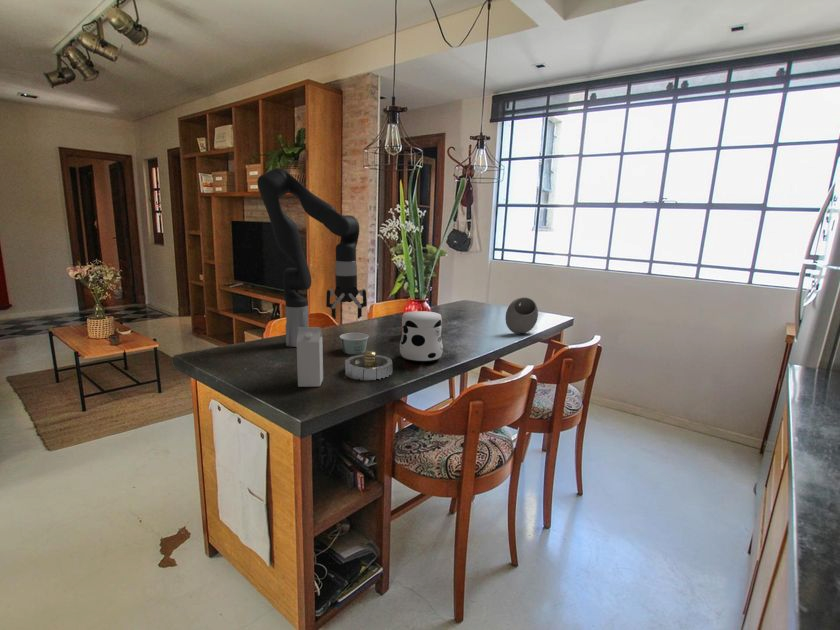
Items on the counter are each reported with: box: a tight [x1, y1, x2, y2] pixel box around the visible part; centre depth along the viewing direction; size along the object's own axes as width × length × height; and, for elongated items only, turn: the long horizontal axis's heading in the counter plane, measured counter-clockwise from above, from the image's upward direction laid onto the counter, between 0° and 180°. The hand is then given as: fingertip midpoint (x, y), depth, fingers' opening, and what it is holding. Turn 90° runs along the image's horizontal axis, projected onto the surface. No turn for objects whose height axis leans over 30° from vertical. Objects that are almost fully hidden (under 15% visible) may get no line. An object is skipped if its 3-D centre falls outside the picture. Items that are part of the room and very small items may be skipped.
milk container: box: [399, 310, 444, 363], centre depth 169 cm, size 17×17×18 cm
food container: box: [339, 332, 370, 355], centre depth 179 cm, size 12×12×6 cm
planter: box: [505, 296, 539, 335], centre depth 214 cm, size 18×7×19 cm, turn 110°
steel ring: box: [344, 354, 393, 381], centre depth 154 cm, size 17×17×4 cm
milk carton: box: [296, 326, 324, 388], centre depth 140 cm, size 7×7×19 cm
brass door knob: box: [362, 350, 377, 368], centre depth 153 cm, size 9×9×7 cm
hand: (346, 318), depth 154 cm, fingers open, 8 cm apart
